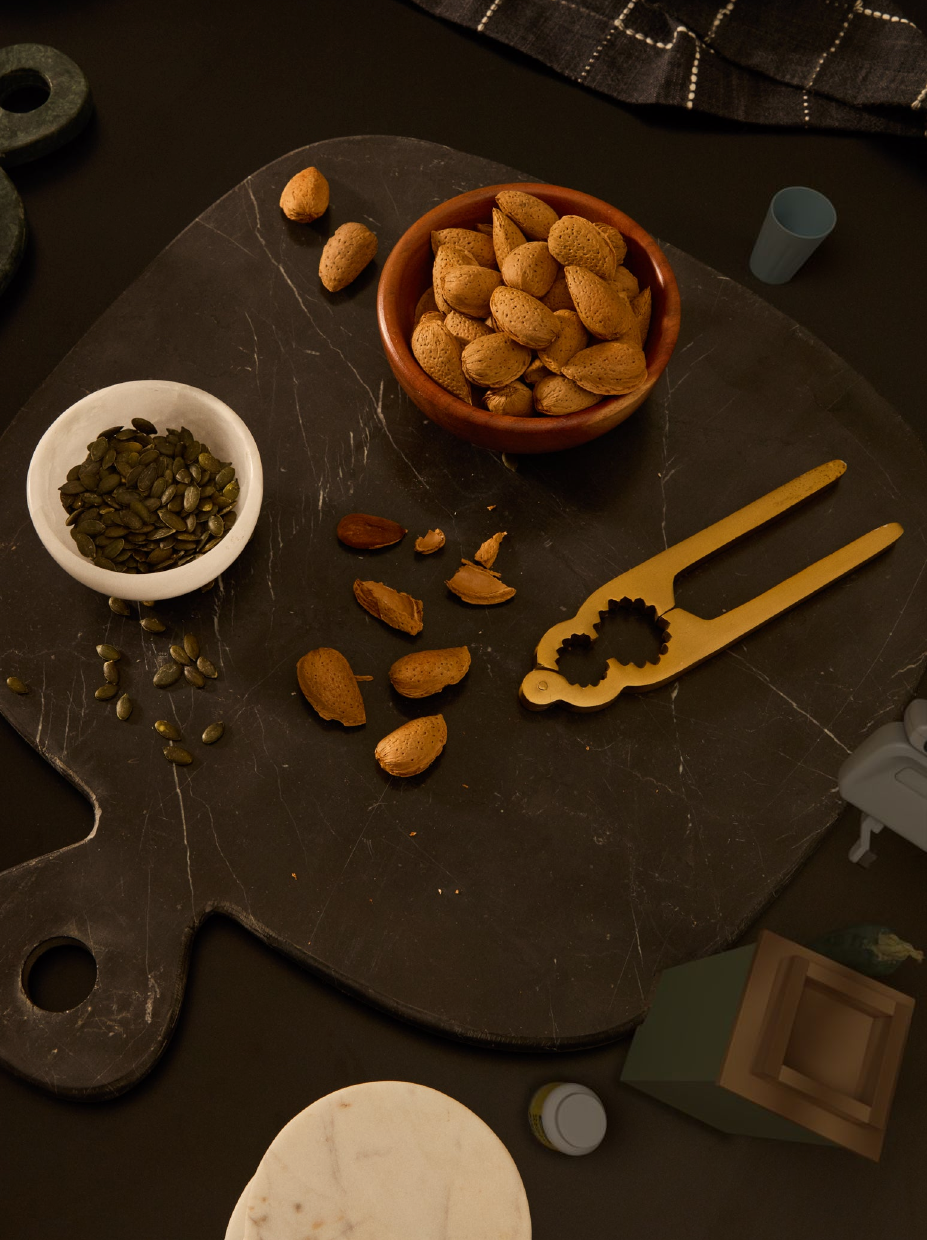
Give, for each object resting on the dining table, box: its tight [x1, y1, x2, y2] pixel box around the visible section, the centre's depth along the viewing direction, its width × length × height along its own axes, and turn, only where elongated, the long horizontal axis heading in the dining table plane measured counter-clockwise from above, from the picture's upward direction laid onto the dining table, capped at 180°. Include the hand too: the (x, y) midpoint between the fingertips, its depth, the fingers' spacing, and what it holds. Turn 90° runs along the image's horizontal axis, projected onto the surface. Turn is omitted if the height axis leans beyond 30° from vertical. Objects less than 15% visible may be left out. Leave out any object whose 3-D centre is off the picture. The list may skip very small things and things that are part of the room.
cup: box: [749, 186, 837, 285], centre depth 139 cm, size 8×8×10 cm
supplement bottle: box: [527, 1081, 608, 1157], centre depth 98 cm, size 5×5×10 cm
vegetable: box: [804, 921, 926, 977], centre depth 100 cm, size 4×4×20 cm
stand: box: [619, 942, 841, 1148], centre depth 92 cm, size 10×10×28 cm
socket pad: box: [715, 928, 916, 1163], centre depth 78 cm, size 11×11×4 cm
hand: (907, 895), depth 97 cm, fingers open, 8 cm apart
